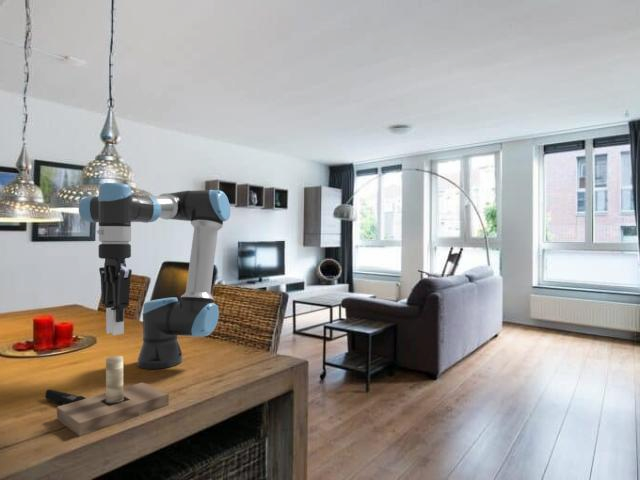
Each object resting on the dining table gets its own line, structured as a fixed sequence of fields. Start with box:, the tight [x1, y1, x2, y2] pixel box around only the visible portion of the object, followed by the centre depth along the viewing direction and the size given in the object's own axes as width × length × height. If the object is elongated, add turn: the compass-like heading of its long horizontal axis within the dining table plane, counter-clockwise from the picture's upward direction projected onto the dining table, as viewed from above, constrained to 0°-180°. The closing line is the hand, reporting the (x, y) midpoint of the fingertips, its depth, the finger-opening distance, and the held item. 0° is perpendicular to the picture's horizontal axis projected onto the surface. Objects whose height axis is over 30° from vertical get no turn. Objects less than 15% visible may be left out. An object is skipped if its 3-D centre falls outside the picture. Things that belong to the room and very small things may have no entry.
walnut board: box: [56, 382, 170, 437], centre depth 104 cm, size 22×14×3 cm, turn 141°
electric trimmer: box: [44, 389, 87, 405], centre depth 109 cm, size 4×16×3 cm, turn 65°
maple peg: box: [105, 355, 124, 406], centre depth 104 cm, size 4×4×14 cm
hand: (115, 333), depth 104 cm, fingers open, 3 cm apart
